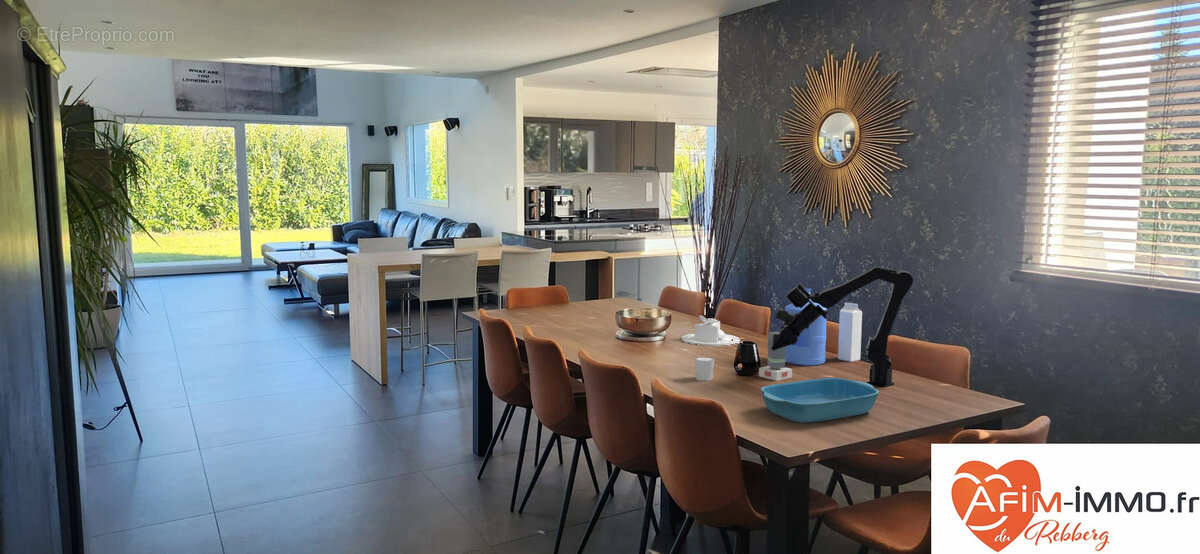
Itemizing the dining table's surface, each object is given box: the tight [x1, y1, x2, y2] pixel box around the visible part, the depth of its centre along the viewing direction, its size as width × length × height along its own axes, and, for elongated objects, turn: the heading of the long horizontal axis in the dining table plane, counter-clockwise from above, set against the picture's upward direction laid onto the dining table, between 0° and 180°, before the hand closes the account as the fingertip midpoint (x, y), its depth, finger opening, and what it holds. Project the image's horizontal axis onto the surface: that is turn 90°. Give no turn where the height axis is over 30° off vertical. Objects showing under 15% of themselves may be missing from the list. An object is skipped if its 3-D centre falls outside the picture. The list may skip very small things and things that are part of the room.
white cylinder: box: [694, 356, 715, 382], centre depth 281 cm, size 7×7×7 cm
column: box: [767, 331, 786, 368], centre depth 284 cm, size 5×5×12 cm
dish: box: [681, 315, 741, 347], centre depth 350 cm, size 25×25×11 cm
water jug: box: [784, 287, 828, 367], centre depth 308 cm, size 16×16×28 cm
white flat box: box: [758, 365, 793, 382], centre depth 285 cm, size 8×8×3 cm
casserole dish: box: [760, 377, 880, 424], centre depth 242 cm, size 37×22×7 cm, turn 115°
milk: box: [837, 302, 863, 363], centre depth 312 cm, size 6×6×22 cm
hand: (772, 347), depth 284 cm, fingers open, 6 cm apart
